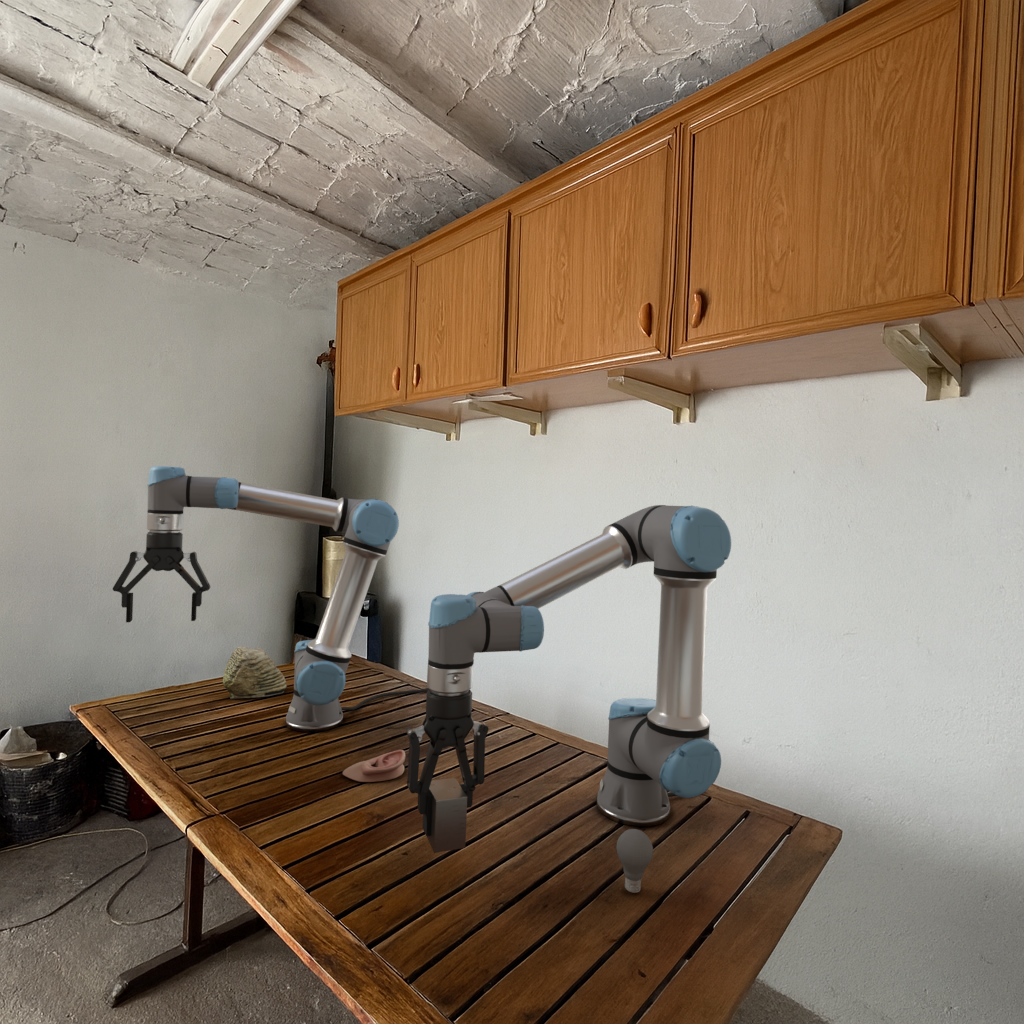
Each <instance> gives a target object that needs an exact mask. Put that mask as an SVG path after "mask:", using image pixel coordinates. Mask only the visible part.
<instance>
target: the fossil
mask: <svg viewBox="0 0 1024 1024" xmlns="http://www.w3.org/2000/svg"><path fill="white" fill-rule="evenodd" d="M222 676H223V677H222V685H223V687H224V688H225V690H226V691H228V693H229V698H230V699H250V698H264V697H271V696H275V695H281V694H284V693H285V691H286V689H287V687H288V686H287V680H286V678H285V676H284V674H283V673H282V672H281V669H279V668H278V667H277V665H276V663H275V662H274V660H273V659H272V658H271V657H270V656H269V655H268V654H267V653H266V652H265V650H264V649H263V648H260V647H258V648H251V647H247V646H246V647H245V646H238V647H237V648H236V649H235V650H233V651H232V653H231V656H230V657H229V659H228V660H227V663H226V666H225V668H224V671H223V675H222Z"/></svg>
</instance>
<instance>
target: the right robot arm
mask: <svg viewBox="0 0 1024 1024" xmlns="http://www.w3.org/2000/svg"><path fill="white" fill-rule="evenodd" d="M731 551H732V536H731V532H730V529H729V526H728V524H727V522H725V520H724V519H723V518H722V517H721V516H720V514H718V513H717V512H716V511H714V510H712V509H709V508H707V507H700V506H697V505H696V506H695V505H666V504H655V505H651V506H647V507H643V508H642V509H639V510H637V511H634V512H633V513H631V514H629V515H626V516H625V517H622V518H620V519H618V520H617V521H614V522H613V523H611V524H608V525H607V526H605V527H604V528H603V529H602V533H601V534H600V535H597V536H595V537H593V538H592V539H589V540H588V541H585V542H584V543H581V544H580V545H577V546H575V547H573V548H572V549H570V550H567V551H566V552H563V553H562V554H559V555H557V556H556V557H553V558H552V559H549V560H548V561H546V562H543V563H542V564H539V565H537V566H535V567H533V568H531V569H529V570H527V571H525V572H523V573H521V574H519V575H517V576H515V577H513V578H511V579H509V580H507V581H505V582H503V583H501V584H499V585H496V586H495V587H492V588H489V589H488V590H486V591H472V592H470V593H468V594H455V593H450V594H449V593H448V594H447V593H446V594H439V595H437V596H435V597H434V598H432V600H431V602H430V608H429V619H428V625H427V626H428V657H427V673H426V674H427V675H426V687H427V688H429V690H428V691H427V692H426V697H425V699H426V701H425V718H424V720H423V722H422V724H421V725H420V726H416V727H415V728H413V727H407V730H406V736H407V738H408V739H407V740H408V741H409V743H408V744H409V745H408V758H407V759H408V761H407V775H406V786H407V788H408V790H409V792H410V793H411V794H417V806H416V807H417V810H418V812H419V814H420V815H422V830H423V833H424V835H425V836H426V837H427V836H431V820H432V794H431V792H430V790H429V788H430V784H431V781H432V780H433V778H434V774H435V771H436V767H437V763H438V760H439V757H440V755H441V754H442V751H443V749H446V748H448V747H451V748H454V749H455V753H456V757H457V762H458V765H459V770H460V774H461V779H462V782H463V783H459V785H460V786H461V788H462V789H463V791H464V792H465V794H466V796H467V809H468V808H472V806H473V797H474V791H476V786H478V785H483V784H484V783H485V771H486V770H485V769H486V767H485V764H486V761H485V759H486V738H487V735H488V734H489V733H488V732H489V729H490V728H489V726H488V725H487V724H486V723H485V722H484V721H483V720H479V721H476V720H474V718H473V717H472V711H473V710H472V709H473V692H472V691H471V689H472V688H473V679H474V664H475V663H474V661H475V659H474V658H475V653H476V654H477V653H478V654H479V653H497V652H498V653H499V652H500V653H502V652H523V651H531V650H536V649H538V648H539V647H540V646H541V644H542V642H543V640H544V636H545V623H544V617H543V615H542V613H541V611H540V609H541V608H543V607H545V606H546V605H548V604H551V603H553V602H554V601H556V600H558V599H561V598H562V597H565V596H566V595H568V594H570V593H572V592H574V591H576V590H579V589H580V588H581V587H583V586H586V585H588V584H589V583H591V582H593V581H595V580H597V579H599V578H601V577H603V576H605V575H607V574H609V573H611V572H612V571H614V570H617V569H618V568H621V569H623V570H624V569H625V570H627V569H629V568H631V567H633V566H635V565H639V564H641V563H651V562H652V563H653V577H654V578H655V579H656V580H657V581H658V582H659V584H660V602H659V603H660V604H659V626H658V647H657V648H658V649H657V669H656V689H655V690H656V693H655V699H652V698H643V697H628V698H627V697H626V698H620V699H617V700H615V701H613V702H612V703H611V704H610V707H609V713H608V734H607V735H608V737H607V763H606V771H605V773H604V776H603V778H602V777H601V778H600V779H601V780H600V782H599V789H598V791H597V794H596V808H597V809H598V811H599V812H600V813H601V814H602V815H603V816H605V817H607V818H608V819H610V820H611V821H614V822H616V823H620V824H623V825H626V826H627V825H628V826H631V827H651V826H652V827H653V826H657V825H660V824H663V823H665V822H666V821H667V820H668V819H669V818H670V815H671V805H670V804H671V803H670V799H669V798H671V797H679V798H683V799H691V798H692V799H693V798H696V797H698V796H701V795H703V794H704V793H705V792H707V791H708V790H709V788H710V787H711V786H712V785H713V784H714V783H715V782H716V780H717V779H718V777H719V774H720V770H721V767H722V756H721V752H720V750H719V748H718V747H717V745H716V744H715V743H714V742H713V741H711V739H710V728H711V727H710V725H711V724H710V719H709V718H708V717H707V716H706V715H705V714H704V713H703V697H704V696H703V695H704V694H703V693H704V673H705V671H704V670H705V651H706V628H707V627H706V626H707V606H708V605H707V604H708V588H709V587H710V586H711V585H712V583H714V582H715V581H716V580H717V571H718V569H720V568H722V567H723V566H724V564H726V562H725V561H726V560H728V559H729V557H730V555H731ZM471 730H472V733H473V756H472V757H473V758H472V759H473V761H472V762H473V764H472V769H471V765H470V762H469V757H468V753H467V746H466V742H465V741H466V740H465V739H466V738H467V736H468V735H469V733H470V732H471ZM424 734H426V735H427V737H428V739H430V740H429V742H428V749H427V753H426V757H425V760H424V763H423V766H422V769H421V773H420V776H419V769H420V754H421V744H420V743H421V742H422V740H423V735H424Z"/></svg>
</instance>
